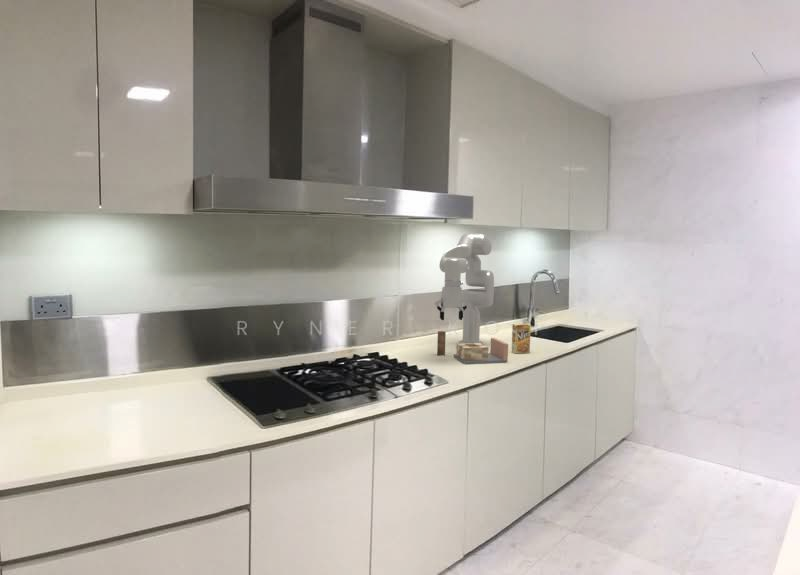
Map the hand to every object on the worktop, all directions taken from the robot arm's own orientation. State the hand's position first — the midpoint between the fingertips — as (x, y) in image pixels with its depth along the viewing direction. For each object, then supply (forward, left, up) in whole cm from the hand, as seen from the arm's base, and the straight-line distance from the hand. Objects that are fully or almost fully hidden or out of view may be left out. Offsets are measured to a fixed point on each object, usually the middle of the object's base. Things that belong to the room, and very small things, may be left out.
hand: (451, 319), depth 244 cm
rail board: (-1, +16, -20) cm, 26 cm away
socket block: (-1, +12, -19) cm, 22 cm away
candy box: (-13, +44, -21) cm, 50 cm away
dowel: (-14, 0, -20) cm, 25 cm away
